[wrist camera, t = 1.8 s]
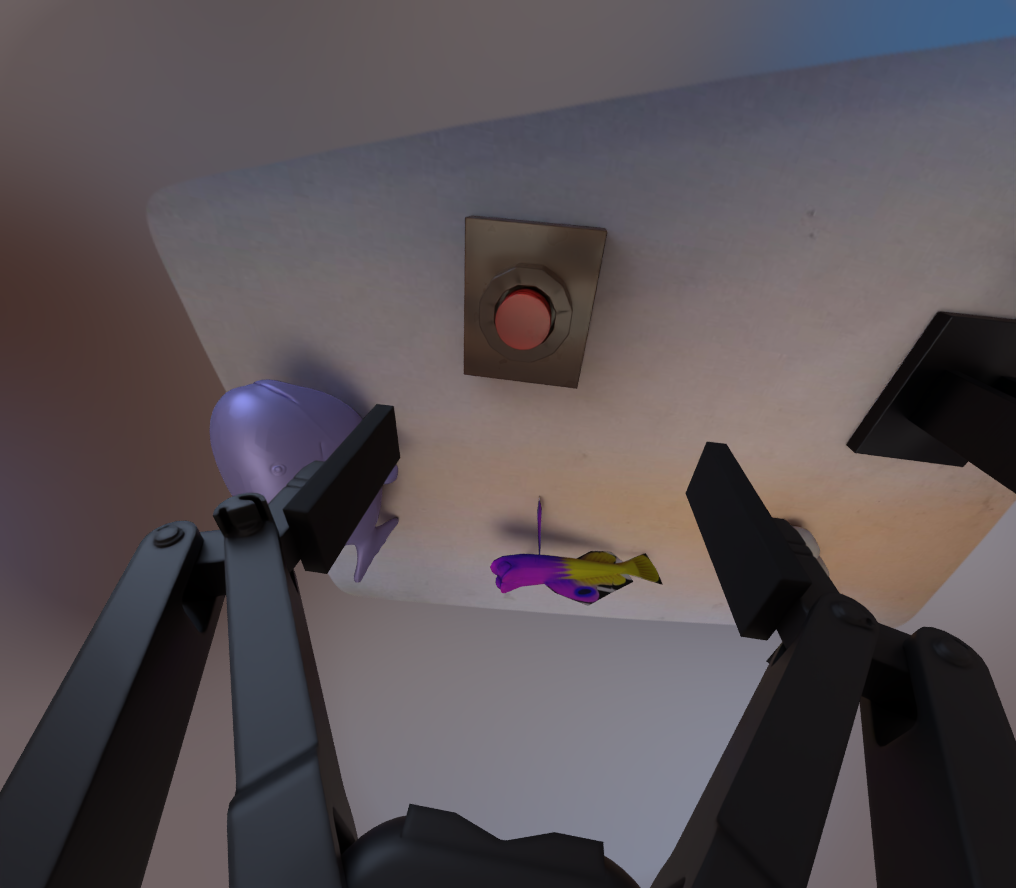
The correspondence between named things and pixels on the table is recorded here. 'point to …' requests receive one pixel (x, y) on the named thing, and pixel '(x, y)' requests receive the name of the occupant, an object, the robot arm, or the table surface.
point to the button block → (537, 266)
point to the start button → (523, 319)
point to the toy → (572, 572)
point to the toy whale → (288, 447)
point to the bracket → (951, 399)
